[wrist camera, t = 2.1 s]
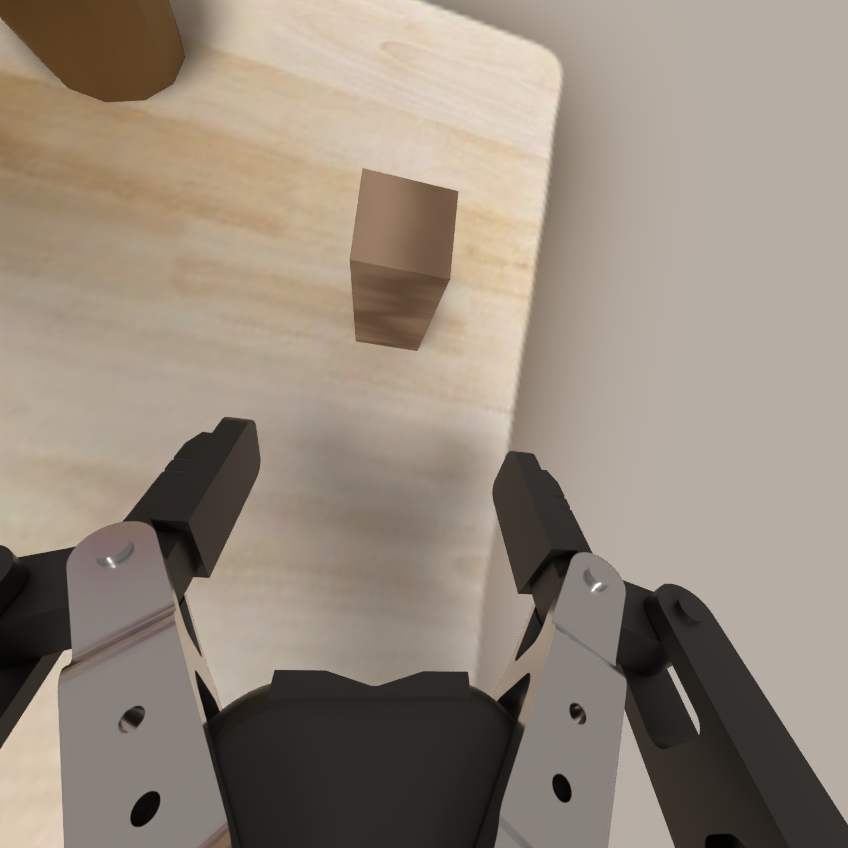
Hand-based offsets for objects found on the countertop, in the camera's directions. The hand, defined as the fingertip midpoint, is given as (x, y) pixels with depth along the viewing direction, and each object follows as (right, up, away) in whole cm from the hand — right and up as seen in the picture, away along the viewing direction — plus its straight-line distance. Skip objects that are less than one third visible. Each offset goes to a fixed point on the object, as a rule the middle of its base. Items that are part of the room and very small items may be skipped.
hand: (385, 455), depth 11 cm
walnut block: (-2, +10, +17) cm, 20 cm away
